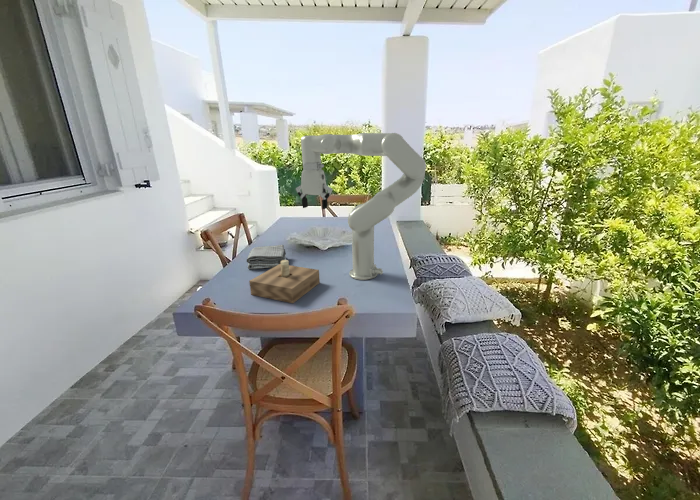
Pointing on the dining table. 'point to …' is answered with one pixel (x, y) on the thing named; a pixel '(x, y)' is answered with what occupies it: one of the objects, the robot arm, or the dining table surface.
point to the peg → (285, 268)
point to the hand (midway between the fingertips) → (314, 208)
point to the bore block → (285, 283)
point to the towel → (266, 257)
